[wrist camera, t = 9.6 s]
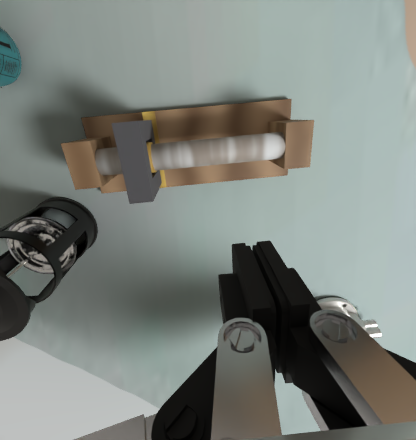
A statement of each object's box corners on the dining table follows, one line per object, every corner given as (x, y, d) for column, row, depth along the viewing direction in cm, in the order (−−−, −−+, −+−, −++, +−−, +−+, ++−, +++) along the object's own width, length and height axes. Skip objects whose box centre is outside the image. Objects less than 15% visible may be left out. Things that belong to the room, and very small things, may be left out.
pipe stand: (289, 99, 31) (317, 93, 24) (285, 174, 35) (308, 188, 28) (83, 117, 31) (51, 117, 24) (103, 191, 35) (81, 210, 28)
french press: (78, 185, 34) (-104, 295, 13) (113, 238, 38) (14, 390, 17) (9, 215, 35) (-260, 361, 14) (49, 264, 39) (-118, 437, 18)
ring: (151, 119, 29) (138, 120, 22) (161, 182, 33) (153, 201, 25) (131, 121, 29) (111, 123, 22) (143, 184, 33) (129, 203, 25)
